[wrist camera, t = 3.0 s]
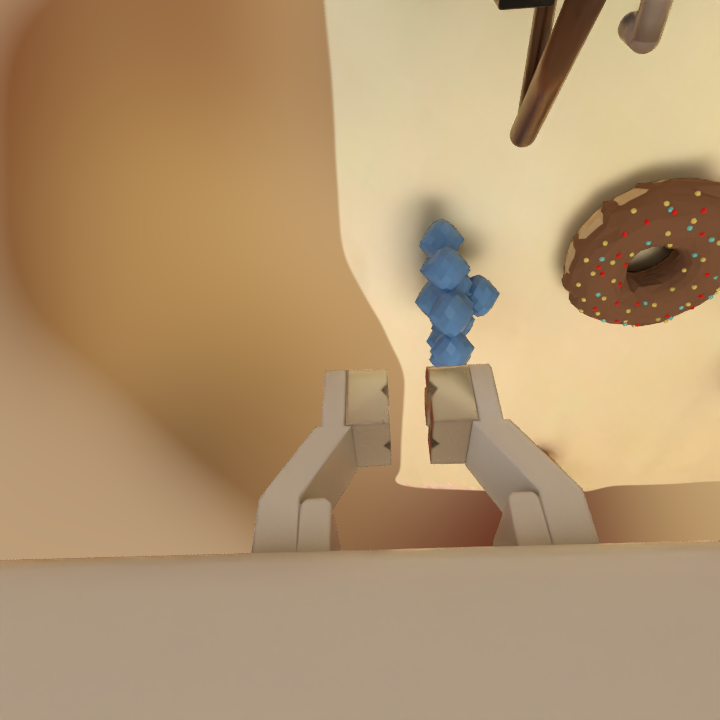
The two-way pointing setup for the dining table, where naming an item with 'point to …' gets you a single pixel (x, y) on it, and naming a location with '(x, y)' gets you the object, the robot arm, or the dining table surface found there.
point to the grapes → (451, 295)
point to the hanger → (573, 53)
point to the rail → (522, 4)
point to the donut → (642, 231)
